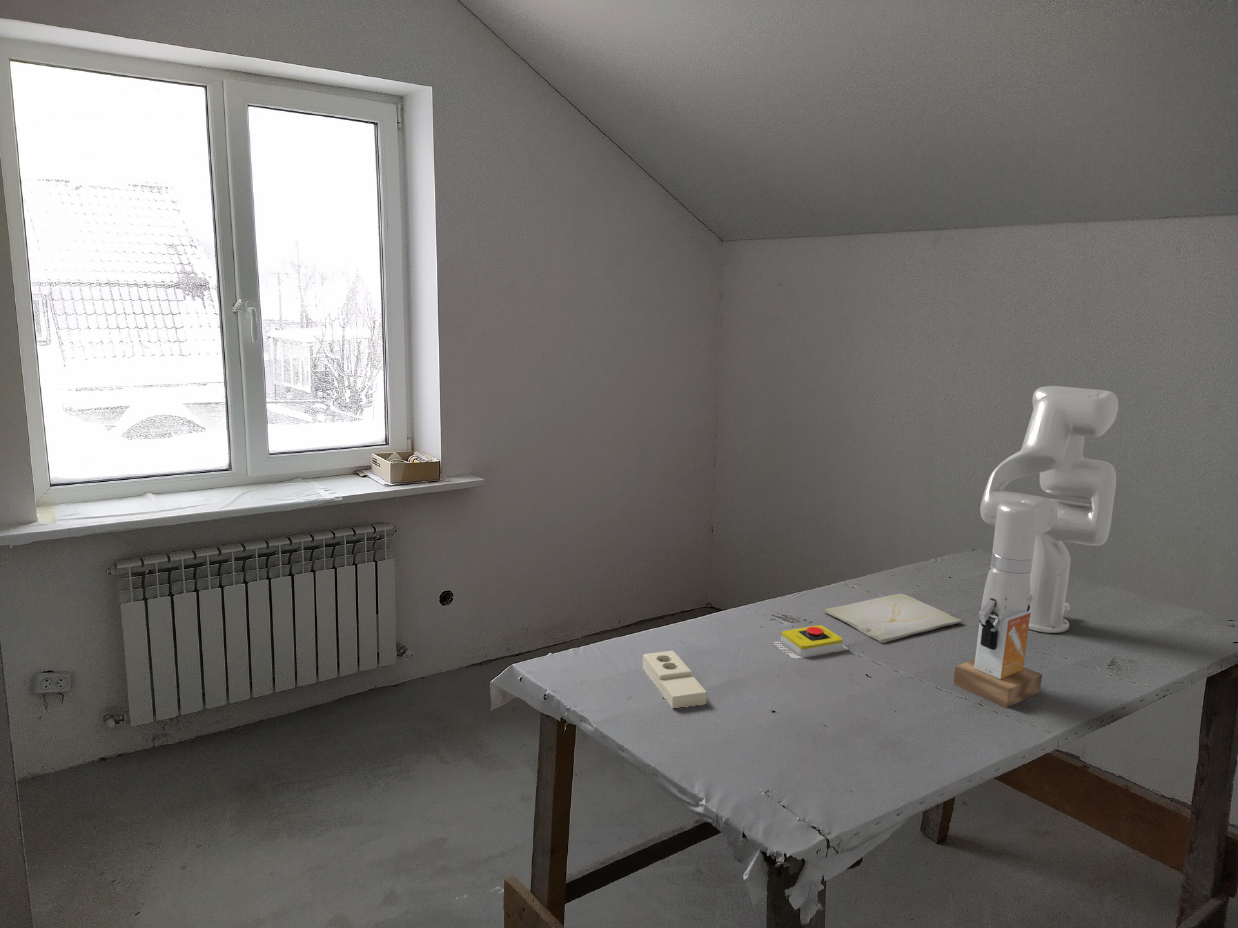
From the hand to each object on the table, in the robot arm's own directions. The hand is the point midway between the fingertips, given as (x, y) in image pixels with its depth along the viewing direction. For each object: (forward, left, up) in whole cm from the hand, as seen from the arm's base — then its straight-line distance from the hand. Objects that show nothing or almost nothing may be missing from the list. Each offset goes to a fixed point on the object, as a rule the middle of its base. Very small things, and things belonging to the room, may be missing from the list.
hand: (1002, 641), depth 177 cm
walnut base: (0, 0, -10) cm, 10 cm away
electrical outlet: (+57, -37, -11) cm, 69 cm away
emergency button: (+18, -35, -11) cm, 41 cm away
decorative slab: (-12, -36, -11) cm, 39 cm away
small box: (0, 0, -7) cm, 7 cm away
